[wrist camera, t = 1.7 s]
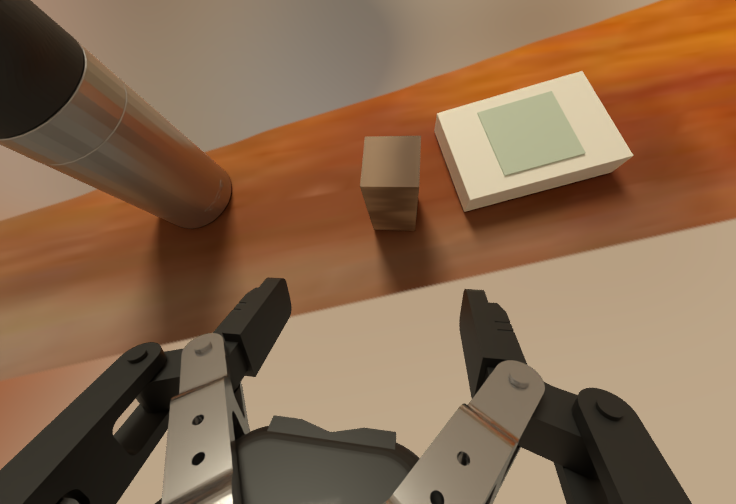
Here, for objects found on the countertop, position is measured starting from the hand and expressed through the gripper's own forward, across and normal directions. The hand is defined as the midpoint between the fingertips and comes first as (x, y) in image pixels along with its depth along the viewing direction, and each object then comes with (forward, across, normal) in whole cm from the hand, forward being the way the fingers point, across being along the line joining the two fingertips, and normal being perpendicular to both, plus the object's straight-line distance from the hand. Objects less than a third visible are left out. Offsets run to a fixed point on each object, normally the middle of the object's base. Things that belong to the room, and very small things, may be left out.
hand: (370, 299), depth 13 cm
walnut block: (+20, 0, +4) cm, 21 cm away
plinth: (+26, -13, -2) cm, 29 cm away
